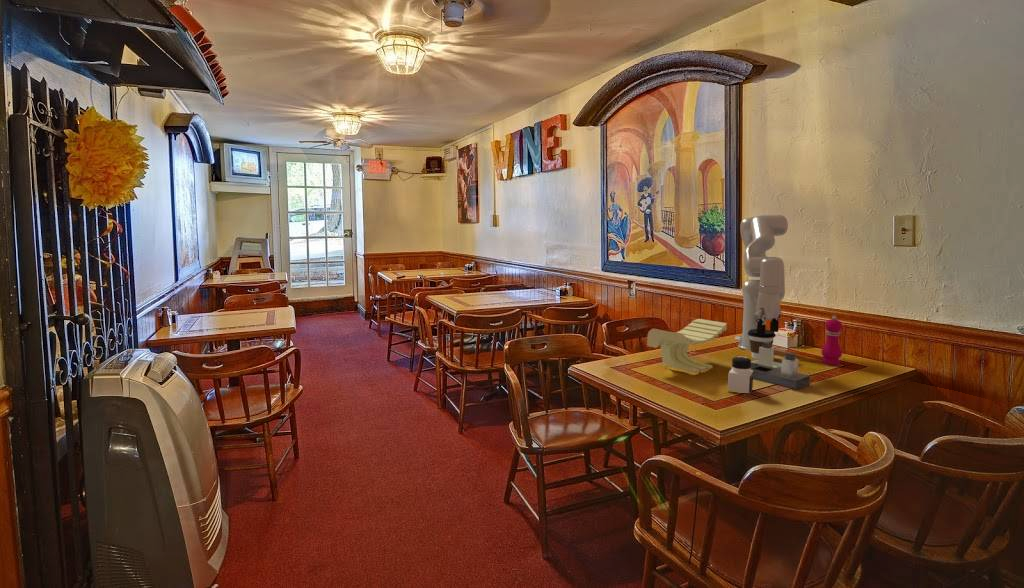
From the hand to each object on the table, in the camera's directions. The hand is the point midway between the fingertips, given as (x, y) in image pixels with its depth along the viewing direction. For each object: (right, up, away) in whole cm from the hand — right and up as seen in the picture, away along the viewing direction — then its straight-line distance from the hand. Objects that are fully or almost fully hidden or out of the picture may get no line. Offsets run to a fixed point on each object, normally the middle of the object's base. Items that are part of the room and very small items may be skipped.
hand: (767, 332), depth 217 cm
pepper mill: (+30, -13, +8) cm, 34 cm away
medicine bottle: (-21, -19, -24) cm, 37 cm away
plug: (0, -14, +3) cm, 14 cm away
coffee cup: (+5, -13, +17) cm, 21 cm away
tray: (0, -14, +3) cm, 15 cm away
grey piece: (-5, -17, -12) cm, 21 cm away
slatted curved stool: (-31, -15, +5) cm, 35 cm away
